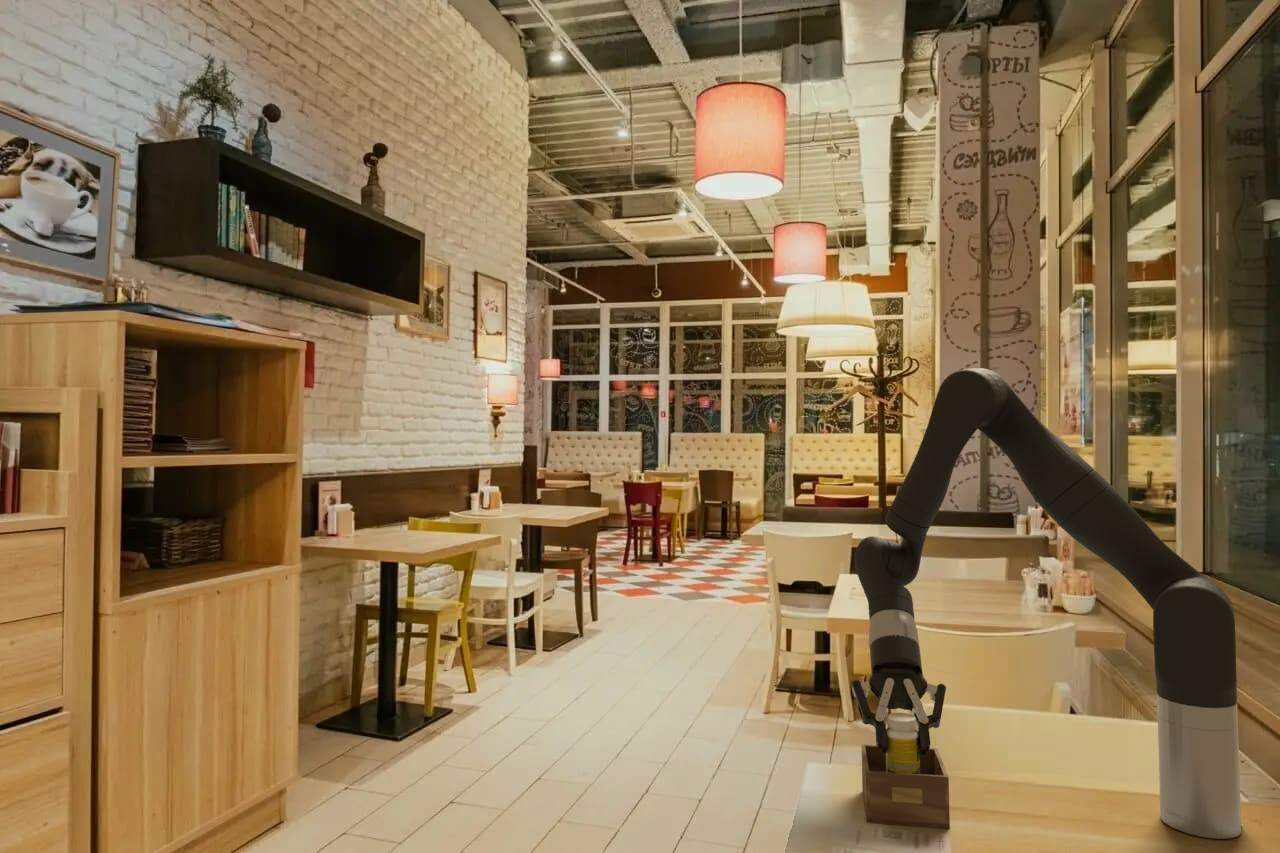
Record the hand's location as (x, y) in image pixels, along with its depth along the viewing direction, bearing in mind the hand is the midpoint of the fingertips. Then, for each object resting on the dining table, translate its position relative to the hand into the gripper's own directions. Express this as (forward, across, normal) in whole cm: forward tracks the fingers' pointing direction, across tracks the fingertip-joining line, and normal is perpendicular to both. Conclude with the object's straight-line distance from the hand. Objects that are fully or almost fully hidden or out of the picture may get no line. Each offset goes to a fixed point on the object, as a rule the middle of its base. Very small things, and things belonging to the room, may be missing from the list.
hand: (903, 751), depth 121 cm
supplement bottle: (+2, 0, +4) cm, 5 cm away
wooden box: (+5, 0, +8) cm, 9 cm away
